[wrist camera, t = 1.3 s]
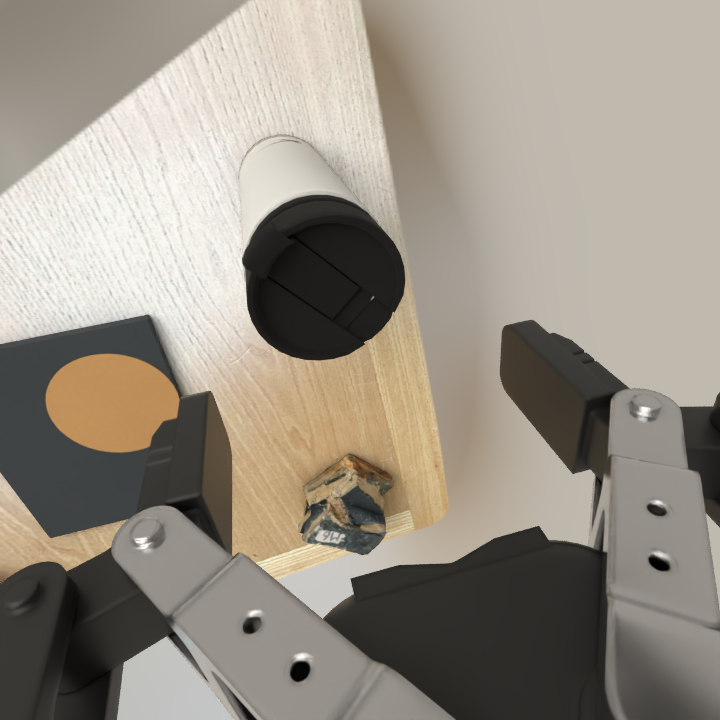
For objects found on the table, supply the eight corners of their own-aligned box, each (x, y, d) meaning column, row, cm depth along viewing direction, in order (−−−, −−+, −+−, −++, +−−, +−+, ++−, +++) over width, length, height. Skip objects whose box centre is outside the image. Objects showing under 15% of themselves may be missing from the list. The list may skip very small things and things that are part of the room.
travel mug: (271, 108, 32) (313, 168, 15) (345, 176, 35) (446, 286, 18) (215, 185, 33) (200, 313, 17) (291, 242, 37) (340, 397, 20)
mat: (-76, 359, 35) (-83, 365, 34) (148, 314, 37) (147, 319, 36) (52, 531, 46) (49, 539, 46) (220, 490, 48) (220, 496, 48)
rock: (394, 466, 52) (411, 507, 47) (349, 524, 55) (360, 567, 51) (326, 444, 48) (336, 486, 44) (282, 507, 51) (287, 552, 47)
